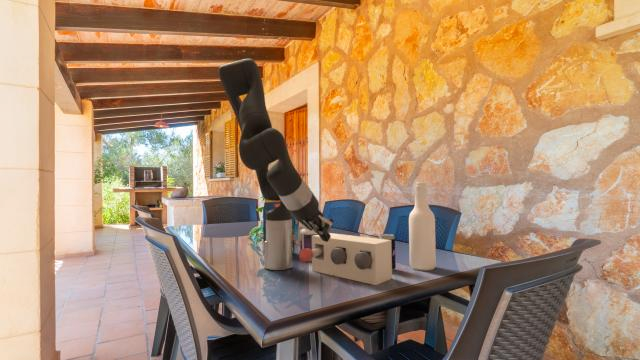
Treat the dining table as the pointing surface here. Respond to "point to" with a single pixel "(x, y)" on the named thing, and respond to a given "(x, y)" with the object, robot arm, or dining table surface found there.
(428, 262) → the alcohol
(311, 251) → the red knob
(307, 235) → the pill bottle
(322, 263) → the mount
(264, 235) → the dark thin upright pieces
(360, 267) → the knob
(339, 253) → the knob
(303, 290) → the dining table surface
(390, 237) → the beverage can
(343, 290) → the dining table surface
